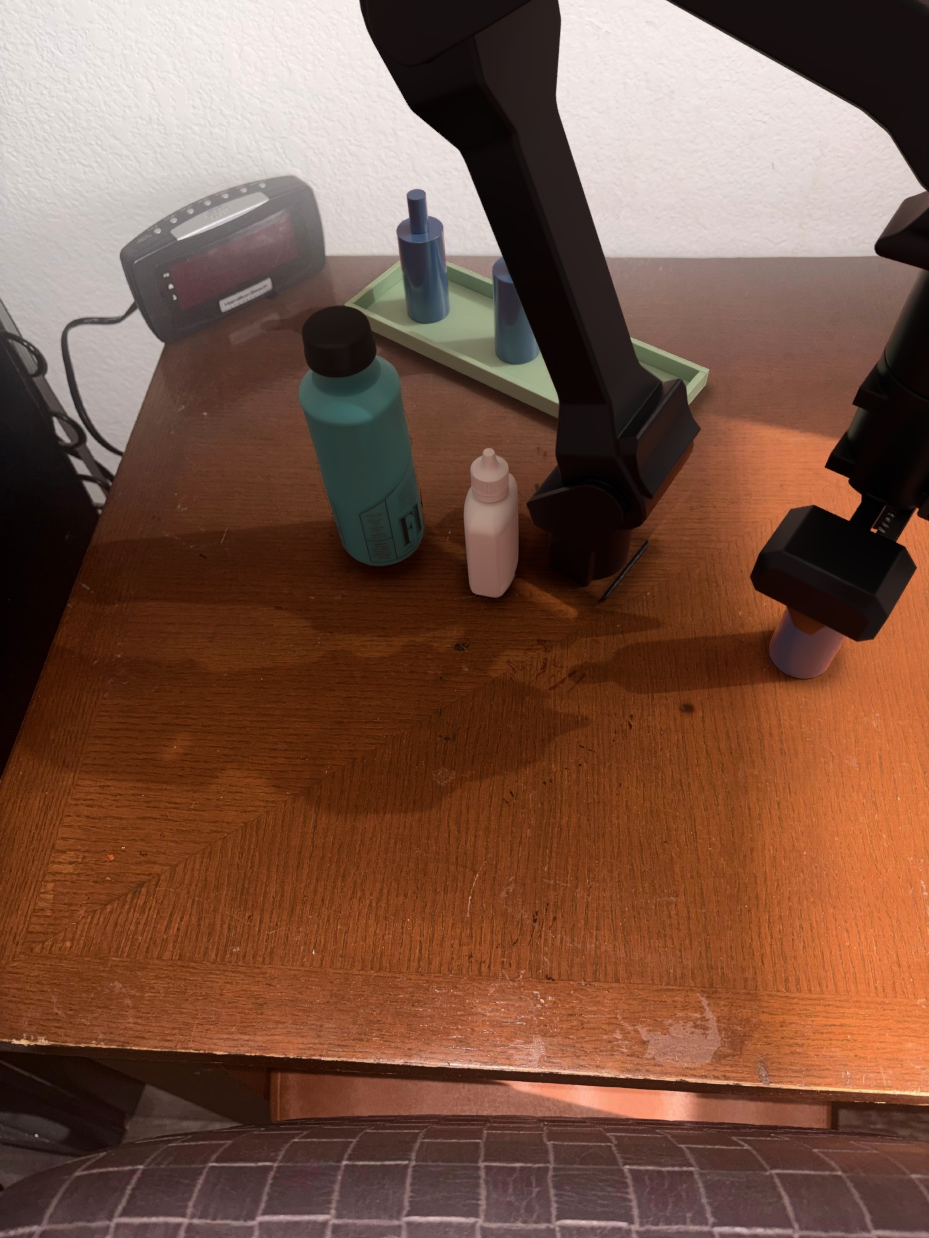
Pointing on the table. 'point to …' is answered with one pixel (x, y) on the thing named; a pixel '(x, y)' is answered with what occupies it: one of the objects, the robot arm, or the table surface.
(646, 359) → the tray
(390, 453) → the beverage bottle
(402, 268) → the blue bottle back
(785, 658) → the blue bottle front
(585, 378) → the robot arm
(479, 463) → the eye dropper bottle
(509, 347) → the blue bottle middle
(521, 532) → the table surface
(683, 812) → the table surface
